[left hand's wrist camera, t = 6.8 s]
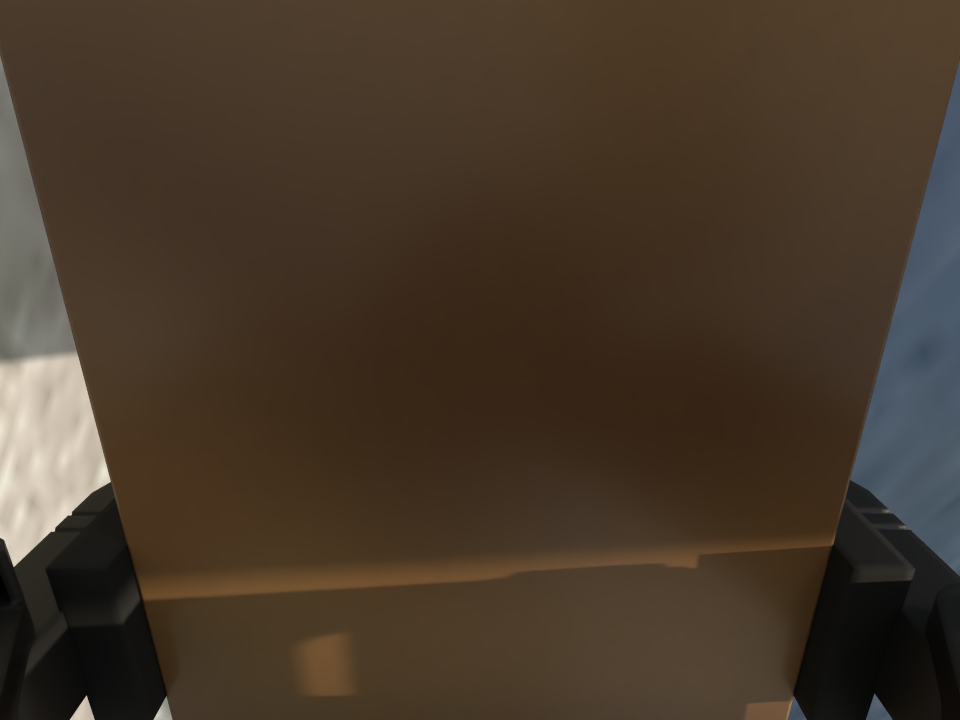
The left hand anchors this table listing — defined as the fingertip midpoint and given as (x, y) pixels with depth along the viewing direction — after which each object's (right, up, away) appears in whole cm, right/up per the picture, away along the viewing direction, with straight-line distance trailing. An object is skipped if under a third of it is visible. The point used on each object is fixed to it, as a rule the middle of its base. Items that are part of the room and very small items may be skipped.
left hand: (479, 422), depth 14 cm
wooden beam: (0, -26, +11) cm, 28 cm away
